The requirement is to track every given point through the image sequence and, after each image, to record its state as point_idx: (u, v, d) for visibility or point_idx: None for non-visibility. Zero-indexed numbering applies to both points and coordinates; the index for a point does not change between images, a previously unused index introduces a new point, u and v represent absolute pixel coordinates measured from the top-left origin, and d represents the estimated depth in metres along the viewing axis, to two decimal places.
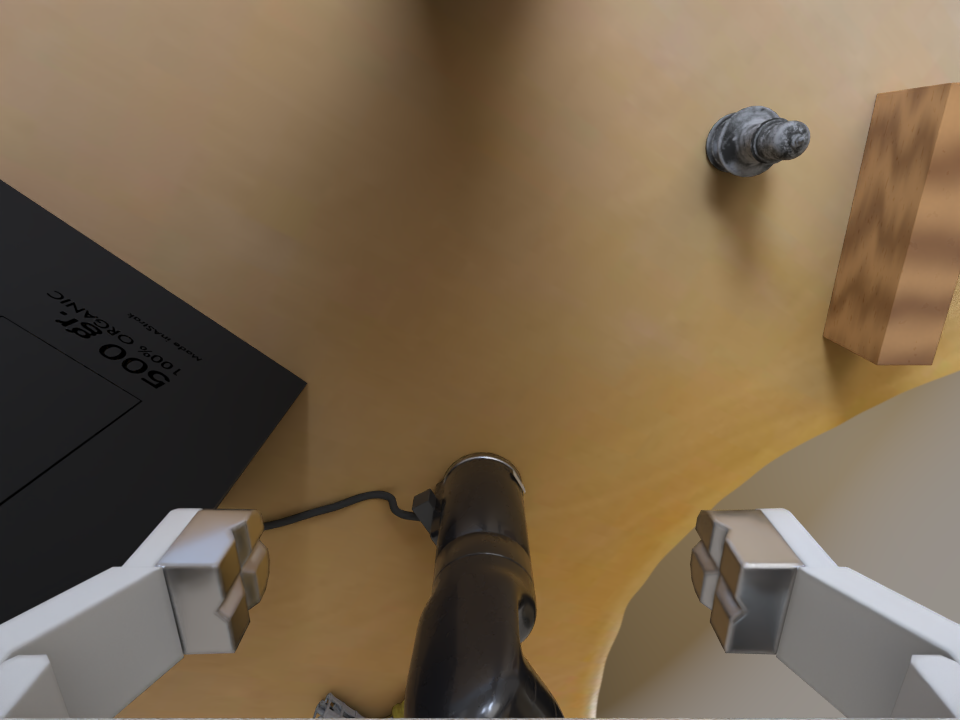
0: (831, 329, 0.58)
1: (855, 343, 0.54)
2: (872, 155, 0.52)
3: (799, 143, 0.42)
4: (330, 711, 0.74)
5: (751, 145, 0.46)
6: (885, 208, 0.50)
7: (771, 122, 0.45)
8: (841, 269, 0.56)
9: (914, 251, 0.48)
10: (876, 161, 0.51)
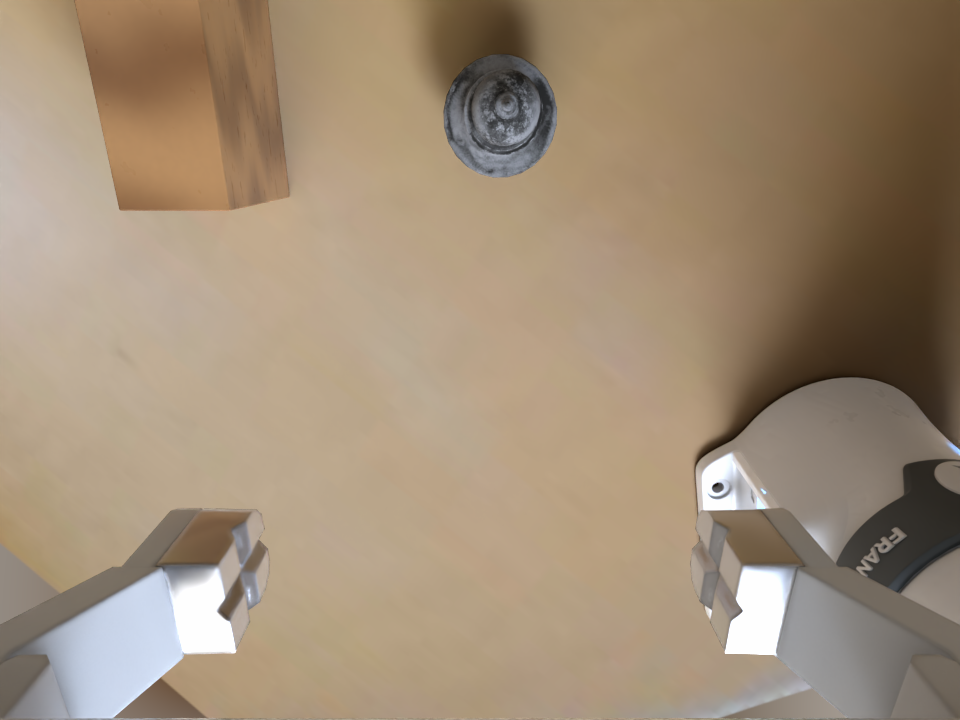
0: None
1: None
2: (270, 98, 0.31)
3: (510, 98, 0.21)
4: None
5: (541, 105, 0.25)
6: None
7: (512, 146, 0.26)
8: None
9: None
10: (264, 86, 0.30)
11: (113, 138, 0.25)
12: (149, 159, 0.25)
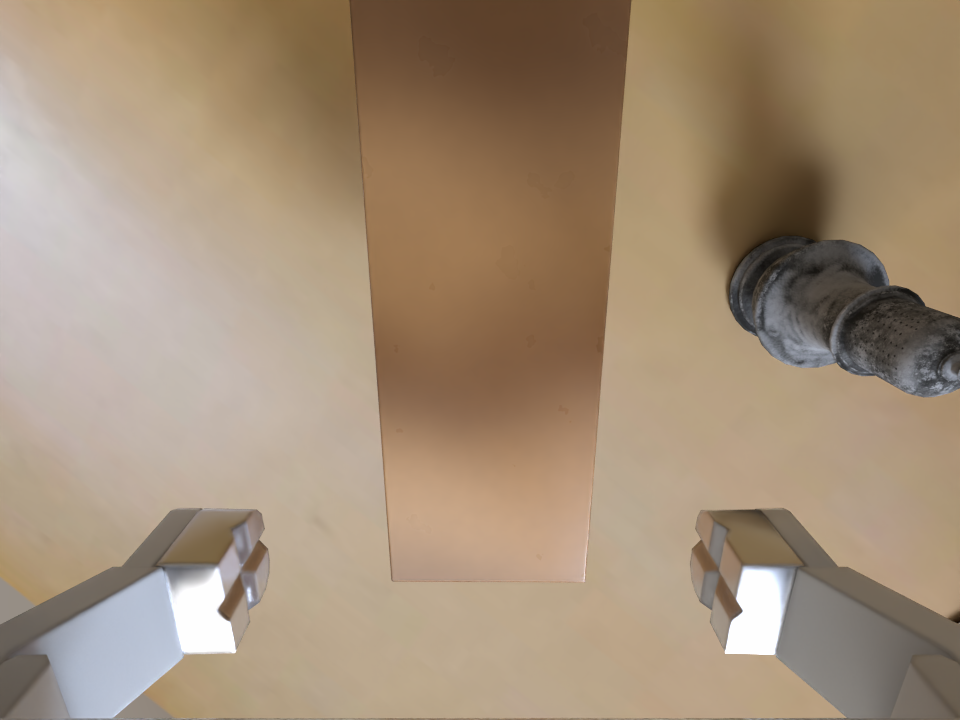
0: None
1: None
2: None
3: None
4: None
5: None
6: None
7: None
8: None
9: (594, 3, 0.10)
10: None
11: (401, 480, 0.14)
12: (460, 511, 0.14)
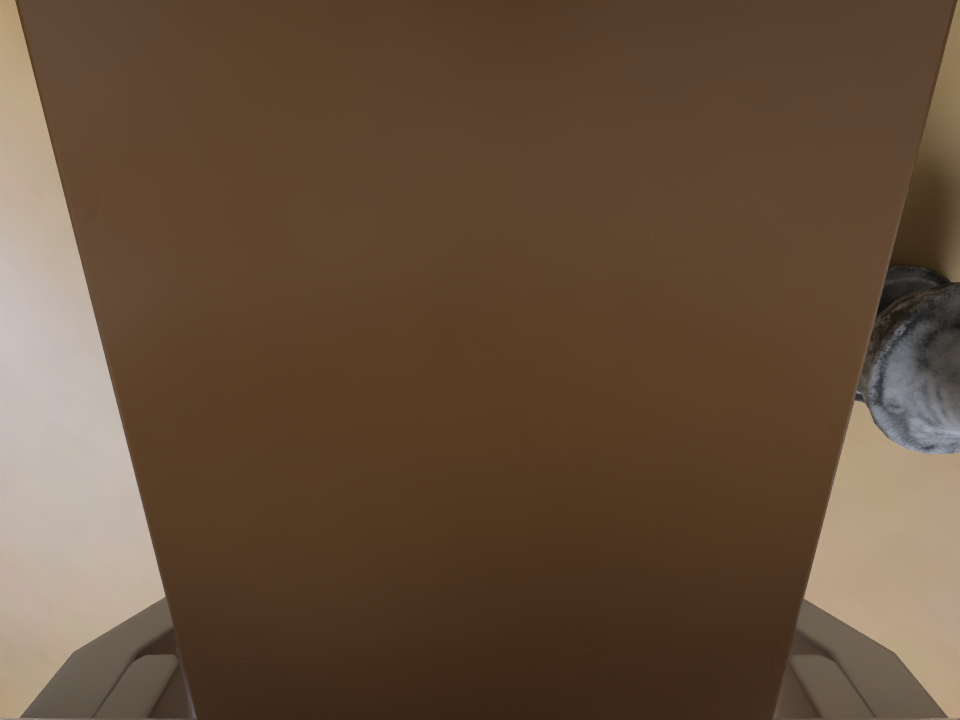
0: None
1: None
2: None
3: None
4: None
5: None
6: None
7: None
8: None
9: None
10: None
11: None
12: None
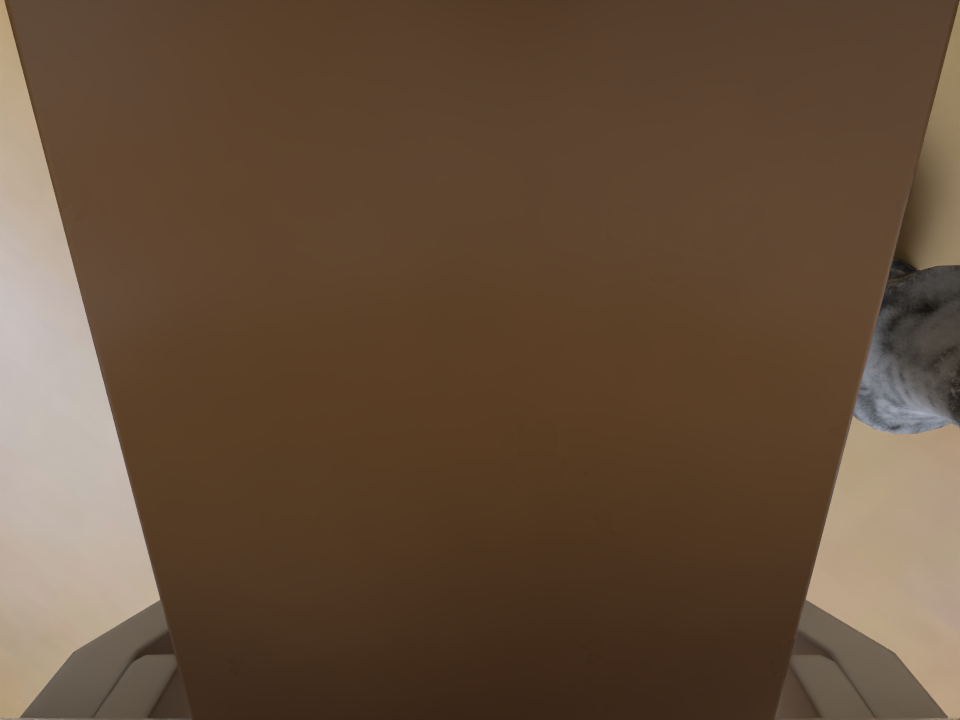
0: None
1: None
2: None
3: None
4: None
5: None
6: None
7: None
8: None
9: None
10: None
11: None
12: None
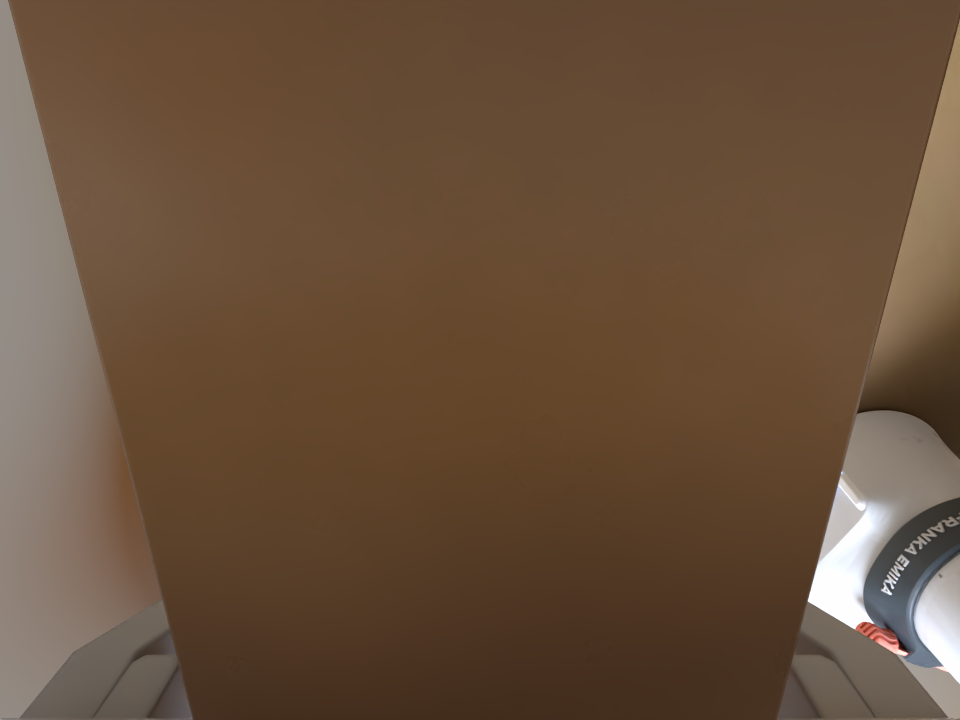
0: None
1: None
2: None
3: None
4: None
5: None
6: None
7: None
8: None
9: None
10: None
11: None
12: None
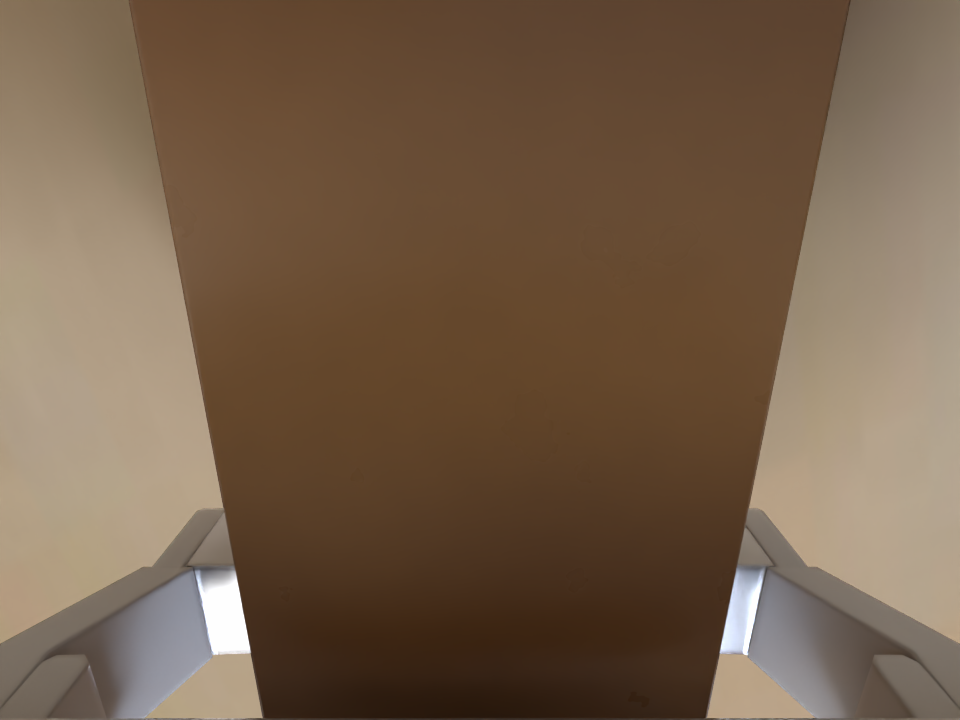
0: None
1: None
2: None
3: None
4: None
5: None
6: None
7: None
8: None
9: None
10: None
11: None
12: None
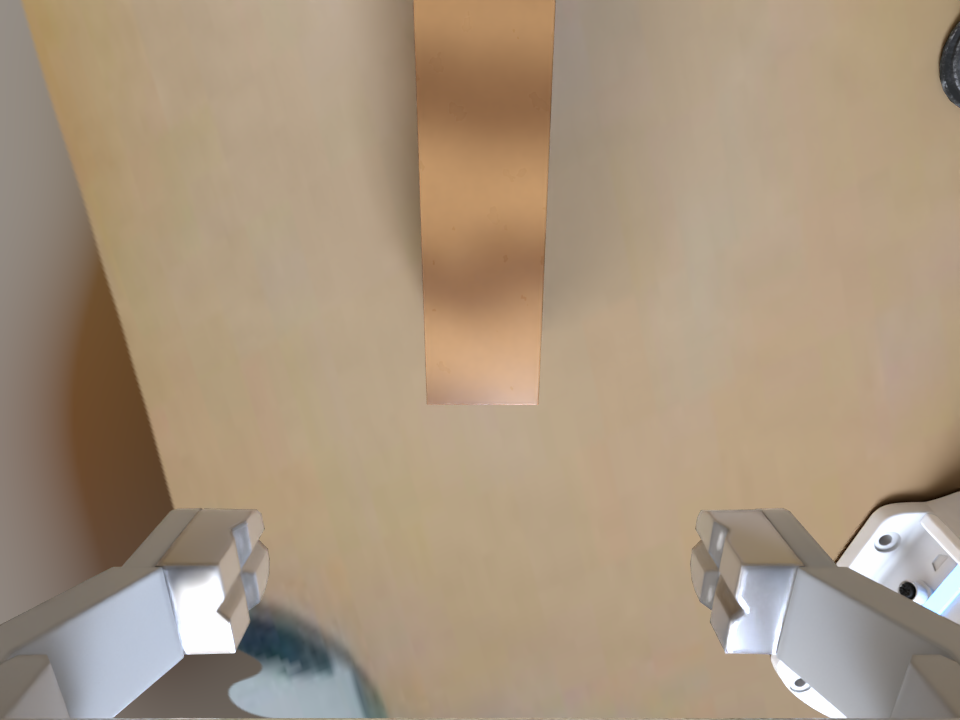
0: None
1: None
2: None
3: None
4: None
5: None
6: None
7: None
8: None
9: (534, 87, 0.21)
10: None
11: (434, 340, 0.24)
12: (467, 359, 0.25)
